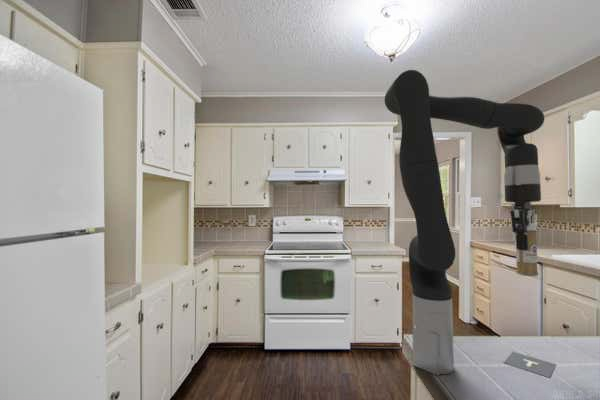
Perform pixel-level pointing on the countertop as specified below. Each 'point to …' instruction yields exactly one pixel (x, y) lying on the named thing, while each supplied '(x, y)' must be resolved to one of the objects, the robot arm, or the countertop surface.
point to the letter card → (530, 364)
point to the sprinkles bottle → (528, 254)
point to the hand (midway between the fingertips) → (524, 248)
